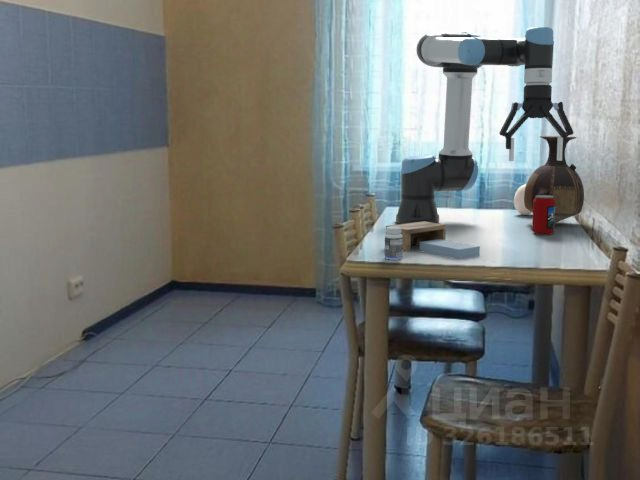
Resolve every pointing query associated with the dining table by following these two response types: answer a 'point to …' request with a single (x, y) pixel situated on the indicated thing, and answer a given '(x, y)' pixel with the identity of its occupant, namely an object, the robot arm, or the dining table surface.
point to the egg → (521, 201)
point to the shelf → (420, 233)
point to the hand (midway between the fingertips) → (535, 160)
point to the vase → (556, 183)
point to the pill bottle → (393, 243)
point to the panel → (450, 248)
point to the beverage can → (543, 215)
